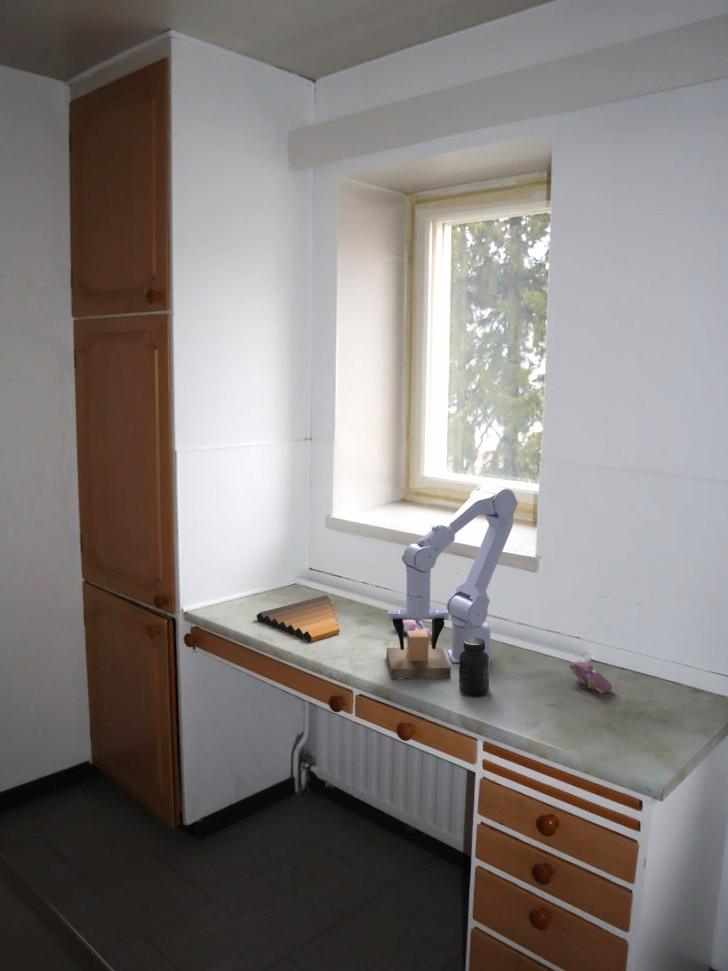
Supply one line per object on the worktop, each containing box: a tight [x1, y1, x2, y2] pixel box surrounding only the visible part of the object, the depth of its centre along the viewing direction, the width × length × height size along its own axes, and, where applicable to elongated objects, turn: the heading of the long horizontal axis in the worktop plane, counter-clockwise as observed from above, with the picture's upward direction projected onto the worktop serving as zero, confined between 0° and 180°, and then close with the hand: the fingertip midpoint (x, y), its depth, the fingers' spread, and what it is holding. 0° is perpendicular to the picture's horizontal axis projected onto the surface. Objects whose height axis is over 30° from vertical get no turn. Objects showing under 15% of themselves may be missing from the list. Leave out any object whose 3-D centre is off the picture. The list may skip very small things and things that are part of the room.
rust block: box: [406, 631, 429, 661], centre depth 197 cm, size 5×5×6 cm
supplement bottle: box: [458, 638, 491, 698], centre depth 183 cm, size 7×7×12 cm
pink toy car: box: [569, 659, 613, 693], centre depth 186 cm, size 10×5×7 cm, turn 21°
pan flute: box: [256, 595, 341, 643], centre depth 232 cm, size 25×3×25 cm
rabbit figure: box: [403, 620, 432, 643], centre depth 220 cm, size 6×6×15 cm
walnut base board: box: [386, 646, 452, 680], centre depth 198 cm, size 14×14×2 cm
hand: (417, 648), depth 197 cm, fingers open, 7 cm apart
